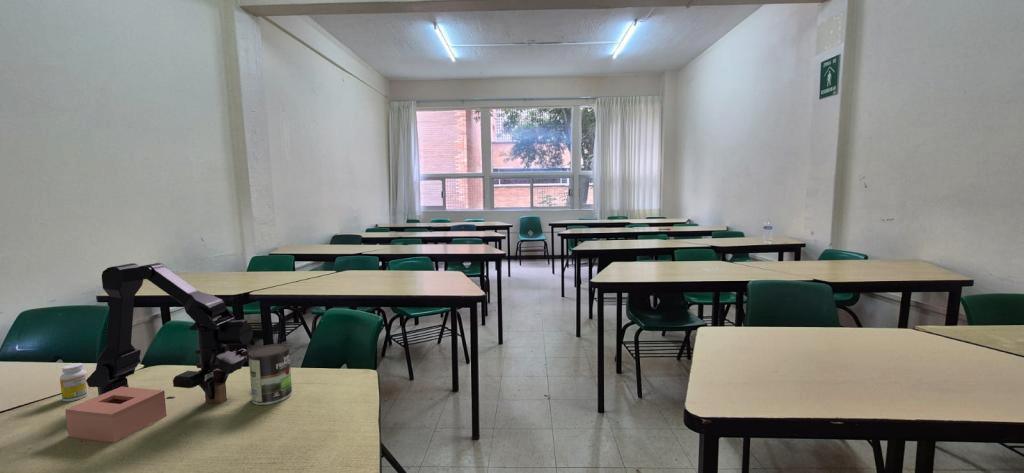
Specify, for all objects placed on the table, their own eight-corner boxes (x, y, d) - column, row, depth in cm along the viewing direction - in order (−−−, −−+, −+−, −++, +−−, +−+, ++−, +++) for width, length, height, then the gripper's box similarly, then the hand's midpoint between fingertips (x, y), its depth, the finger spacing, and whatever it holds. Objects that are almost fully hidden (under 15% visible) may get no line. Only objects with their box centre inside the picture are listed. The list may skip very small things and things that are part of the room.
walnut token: (205, 401, 114) (204, 384, 114) (212, 398, 116) (210, 381, 116) (220, 403, 113) (219, 386, 113) (226, 399, 115) (225, 383, 115)
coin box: (68, 436, 98) (65, 409, 97) (124, 411, 109) (121, 386, 109) (114, 442, 95) (111, 414, 94) (166, 415, 107) (164, 390, 106)
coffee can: (299, 388, 122) (297, 343, 121) (278, 405, 112) (275, 356, 110) (266, 388, 122) (263, 343, 121) (242, 405, 112) (239, 356, 111)
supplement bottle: (82, 399, 116) (79, 367, 115) (57, 403, 114) (53, 370, 113) (93, 391, 121) (89, 360, 120) (69, 395, 119) (65, 363, 118)
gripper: (204, 358, 102) (209, 417, 104) (262, 334, 121) (266, 384, 122) (168, 356, 104) (174, 413, 106) (230, 332, 123) (234, 381, 124)
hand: (215, 397), depth 114 cm, fingers closed on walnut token, 2 cm apart
